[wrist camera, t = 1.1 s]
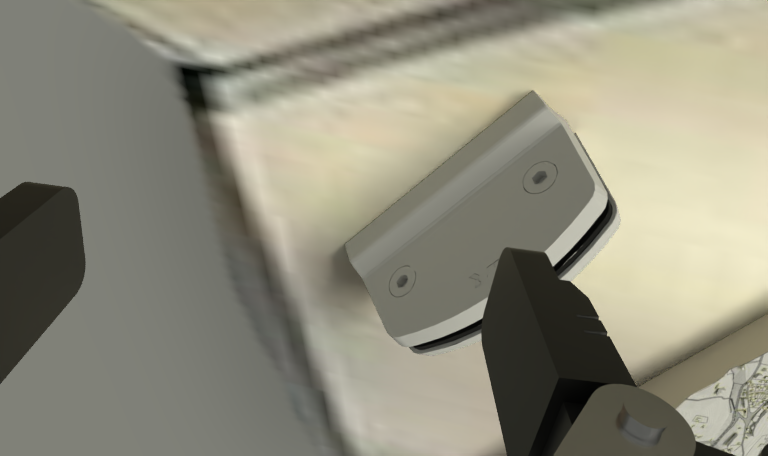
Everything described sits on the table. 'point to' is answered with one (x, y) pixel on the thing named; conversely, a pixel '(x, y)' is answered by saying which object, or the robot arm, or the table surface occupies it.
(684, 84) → the table surface
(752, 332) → the topographic model
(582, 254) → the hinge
